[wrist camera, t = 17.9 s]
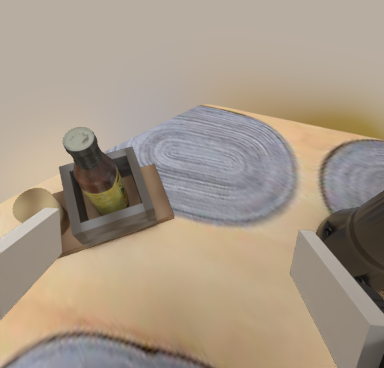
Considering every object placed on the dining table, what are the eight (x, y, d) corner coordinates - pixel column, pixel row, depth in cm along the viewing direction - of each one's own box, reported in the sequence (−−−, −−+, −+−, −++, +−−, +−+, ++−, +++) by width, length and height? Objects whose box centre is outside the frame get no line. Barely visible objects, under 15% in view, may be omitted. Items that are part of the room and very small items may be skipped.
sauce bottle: (136, 207, 52) (115, 145, 35) (107, 227, 50) (70, 170, 33) (118, 183, 55) (90, 113, 37) (89, 200, 53) (45, 135, 35)
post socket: (154, 166, 59) (150, 137, 50) (174, 220, 54) (174, 198, 45) (36, 202, 54) (9, 176, 45) (45, 265, 49) (16, 250, 40)
